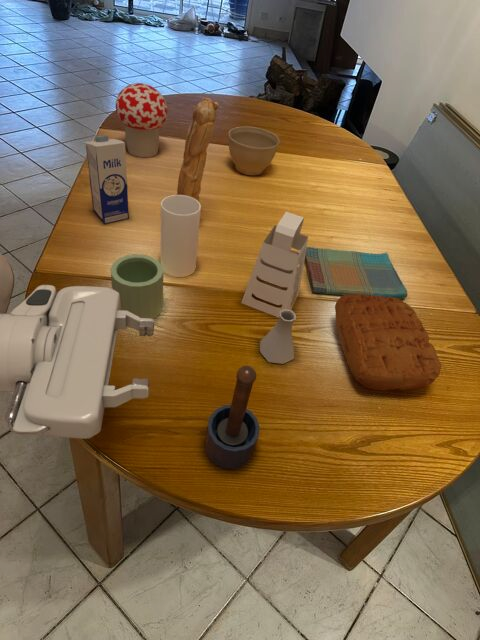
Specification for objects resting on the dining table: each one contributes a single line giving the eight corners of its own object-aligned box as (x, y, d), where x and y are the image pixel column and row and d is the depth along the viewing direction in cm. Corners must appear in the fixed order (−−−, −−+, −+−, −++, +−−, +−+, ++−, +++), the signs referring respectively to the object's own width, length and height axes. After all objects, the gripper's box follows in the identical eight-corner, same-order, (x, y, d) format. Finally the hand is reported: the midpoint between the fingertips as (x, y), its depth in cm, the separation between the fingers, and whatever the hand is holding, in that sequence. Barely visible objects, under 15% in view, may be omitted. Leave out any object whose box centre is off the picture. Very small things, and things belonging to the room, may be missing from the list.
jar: (127, 328, 82) (124, 292, 75) (106, 298, 87) (101, 261, 80) (171, 312, 87) (172, 277, 80) (148, 284, 92) (148, 249, 85)
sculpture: (211, 221, 114) (224, 103, 93) (183, 230, 109) (189, 108, 88) (197, 209, 117) (206, 93, 96) (169, 217, 112) (172, 97, 91)
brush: (225, 463, 64) (243, 390, 51) (208, 439, 67) (222, 363, 54) (250, 448, 67) (273, 375, 54) (233, 425, 69) (251, 350, 56)
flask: (265, 367, 80) (275, 331, 73) (254, 339, 85) (263, 303, 78) (299, 362, 82) (313, 327, 75) (287, 335, 87) (298, 300, 80)
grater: (299, 292, 97) (323, 217, 83) (285, 320, 90) (309, 242, 76) (257, 277, 99) (274, 201, 85) (241, 303, 92) (256, 224, 78)
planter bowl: (226, 155, 145) (230, 123, 137) (272, 162, 146) (278, 130, 138) (223, 176, 133) (227, 142, 126) (273, 184, 134) (280, 150, 127)
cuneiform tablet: (325, 314, 93) (336, 286, 88) (397, 319, 96) (412, 292, 90) (349, 397, 78) (364, 370, 72) (434, 400, 80) (455, 374, 74)
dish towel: (406, 302, 100) (411, 294, 99) (312, 294, 97) (314, 286, 96) (385, 259, 113) (389, 251, 111) (301, 251, 110) (303, 243, 108)
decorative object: (118, 139, 142) (114, 73, 128) (165, 142, 145) (166, 78, 131) (117, 160, 131) (113, 90, 117) (168, 163, 134) (169, 96, 121)
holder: (222, 478, 63) (227, 460, 59) (195, 438, 67) (198, 418, 63) (262, 453, 67) (269, 434, 63) (234, 417, 71) (239, 396, 67)
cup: (202, 263, 100) (207, 203, 89) (184, 281, 94) (188, 219, 83) (172, 251, 102) (174, 190, 91) (153, 268, 96) (153, 206, 85)
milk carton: (103, 224, 105) (95, 145, 92) (92, 211, 109) (83, 133, 95) (129, 218, 109) (125, 141, 95) (118, 206, 113) (113, 130, 99)
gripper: (-10, 417, 38) (144, 417, 41) (44, 275, 53) (156, 281, 55) (7, 450, 43) (145, 449, 45) (53, 311, 57) (156, 315, 59)
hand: (151, 355), depth 50 cm, fingers open, 8 cm apart
